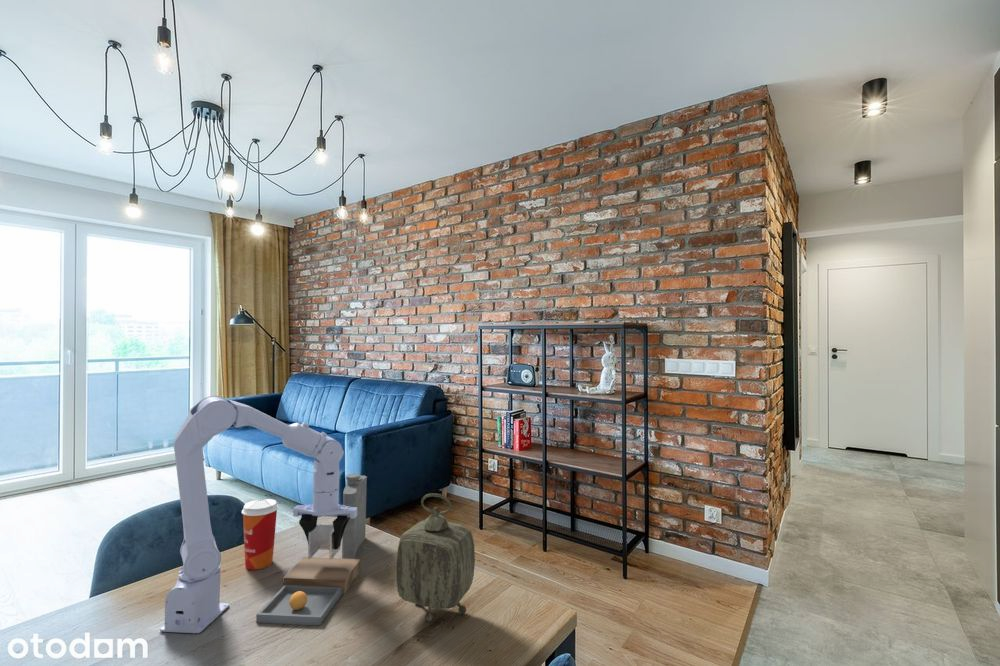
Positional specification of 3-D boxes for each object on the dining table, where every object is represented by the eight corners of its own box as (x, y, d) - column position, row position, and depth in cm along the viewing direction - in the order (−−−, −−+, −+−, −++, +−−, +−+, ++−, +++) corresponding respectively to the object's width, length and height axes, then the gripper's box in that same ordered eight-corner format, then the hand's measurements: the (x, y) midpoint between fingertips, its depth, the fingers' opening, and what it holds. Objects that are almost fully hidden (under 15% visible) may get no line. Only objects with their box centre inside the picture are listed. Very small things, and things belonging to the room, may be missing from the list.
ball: (309, 606, 99) (302, 612, 96) (293, 605, 100) (285, 612, 96) (310, 588, 100) (303, 594, 97) (294, 588, 100) (286, 594, 97)
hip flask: (353, 563, 119) (355, 484, 119) (336, 564, 118) (338, 484, 119) (366, 537, 135) (367, 466, 135) (351, 537, 134) (353, 466, 134)
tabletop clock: (474, 611, 99) (476, 492, 99) (455, 636, 91) (458, 506, 91) (413, 597, 104) (415, 483, 104) (390, 620, 96) (393, 496, 96)
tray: (320, 625, 93) (320, 617, 93) (256, 622, 94) (256, 614, 94) (341, 594, 104) (342, 587, 105) (284, 592, 105) (284, 584, 105)
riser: (344, 594, 105) (344, 580, 105) (282, 591, 105) (283, 577, 105) (359, 571, 115) (360, 559, 115) (303, 569, 115) (303, 556, 115)
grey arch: (331, 559, 108) (331, 533, 108) (308, 558, 108) (308, 532, 108) (339, 549, 113) (340, 524, 113) (317, 548, 113) (318, 523, 113)
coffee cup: (241, 559, 119) (242, 500, 120) (277, 554, 123) (278, 496, 123) (238, 575, 112) (240, 511, 112) (277, 568, 115) (278, 507, 115)
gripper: (362, 484, 114) (361, 540, 114) (303, 482, 115) (302, 538, 115) (351, 494, 107) (350, 554, 107) (289, 492, 108) (288, 551, 108)
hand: (324, 547), depth 111 cm, fingers closed on grey arch, 5 cm apart
